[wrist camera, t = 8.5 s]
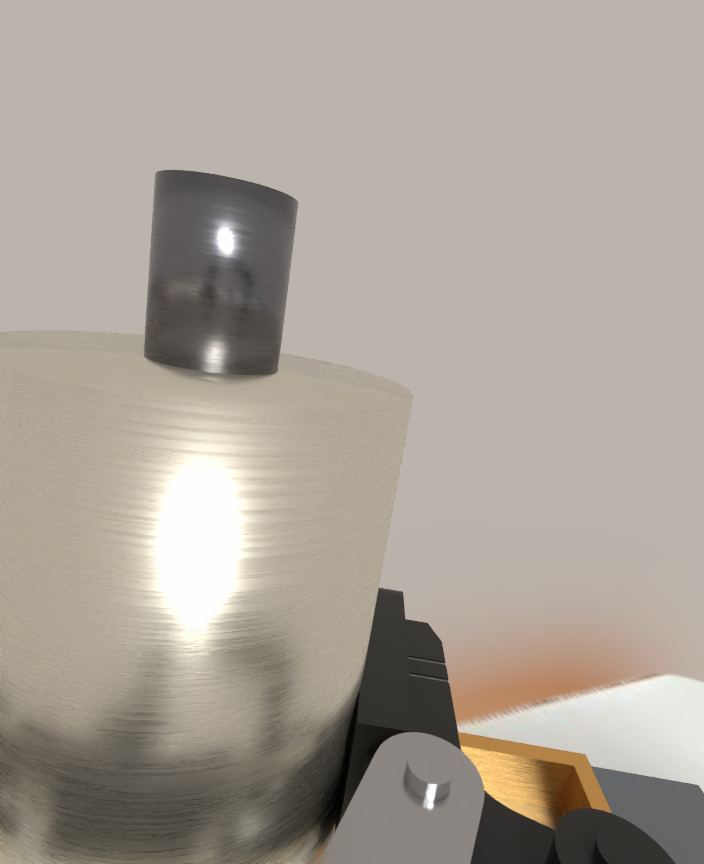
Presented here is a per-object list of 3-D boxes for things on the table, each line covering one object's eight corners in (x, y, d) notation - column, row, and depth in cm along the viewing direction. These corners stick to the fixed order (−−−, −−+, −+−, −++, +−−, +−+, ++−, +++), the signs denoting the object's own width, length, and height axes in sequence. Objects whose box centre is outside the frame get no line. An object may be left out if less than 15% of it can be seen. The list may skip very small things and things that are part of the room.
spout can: (309, 916, 12) (425, 248, 9) (257, 1347, 7) (483, 165, 4) (84, 876, 12) (119, 201, 9) (-124, 1272, 7) (-215, 61, 4)
